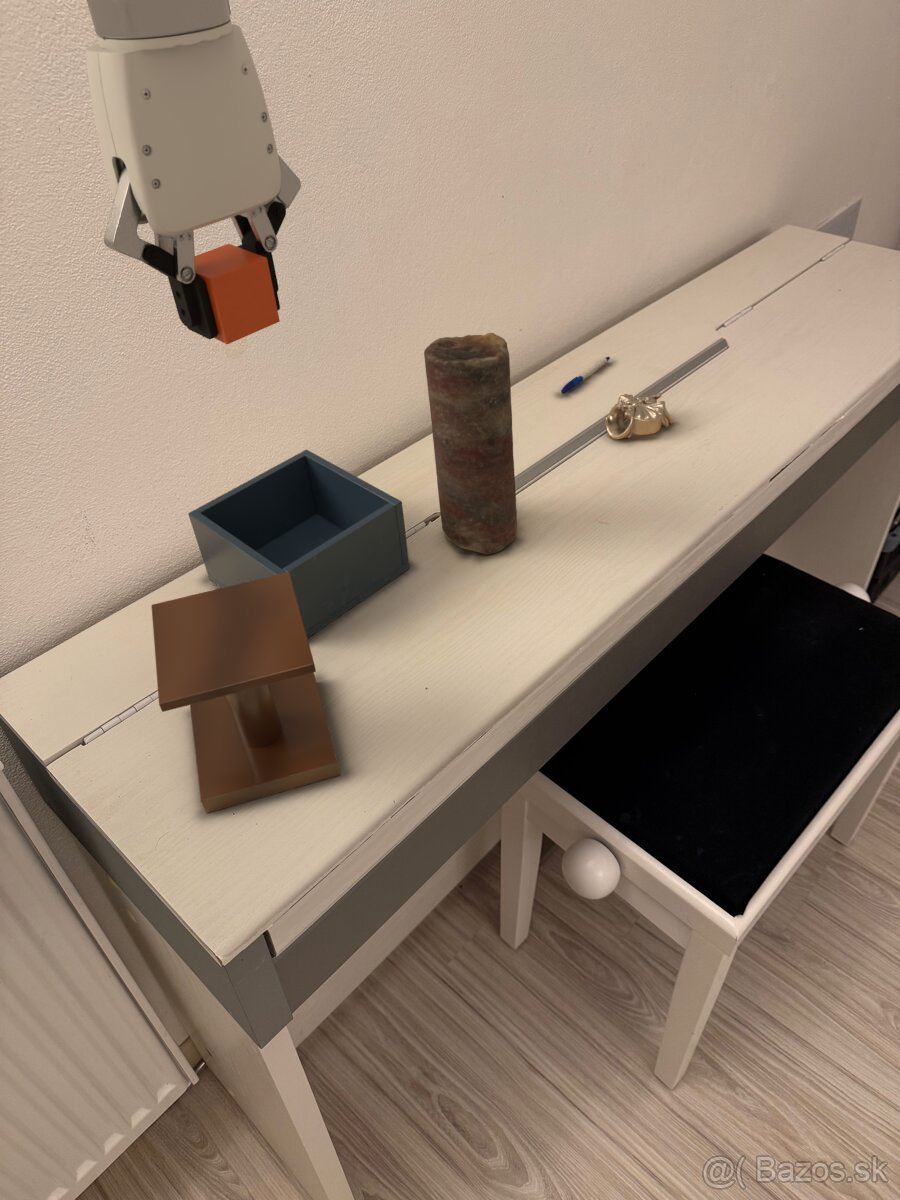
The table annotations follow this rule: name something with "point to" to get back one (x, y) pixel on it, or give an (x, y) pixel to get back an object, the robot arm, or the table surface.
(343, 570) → the blue open crate
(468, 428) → the brown textured cylinder
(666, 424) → the ornament
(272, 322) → the orange block
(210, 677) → the serving stand
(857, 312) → the table surface
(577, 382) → the ballpoint pen
